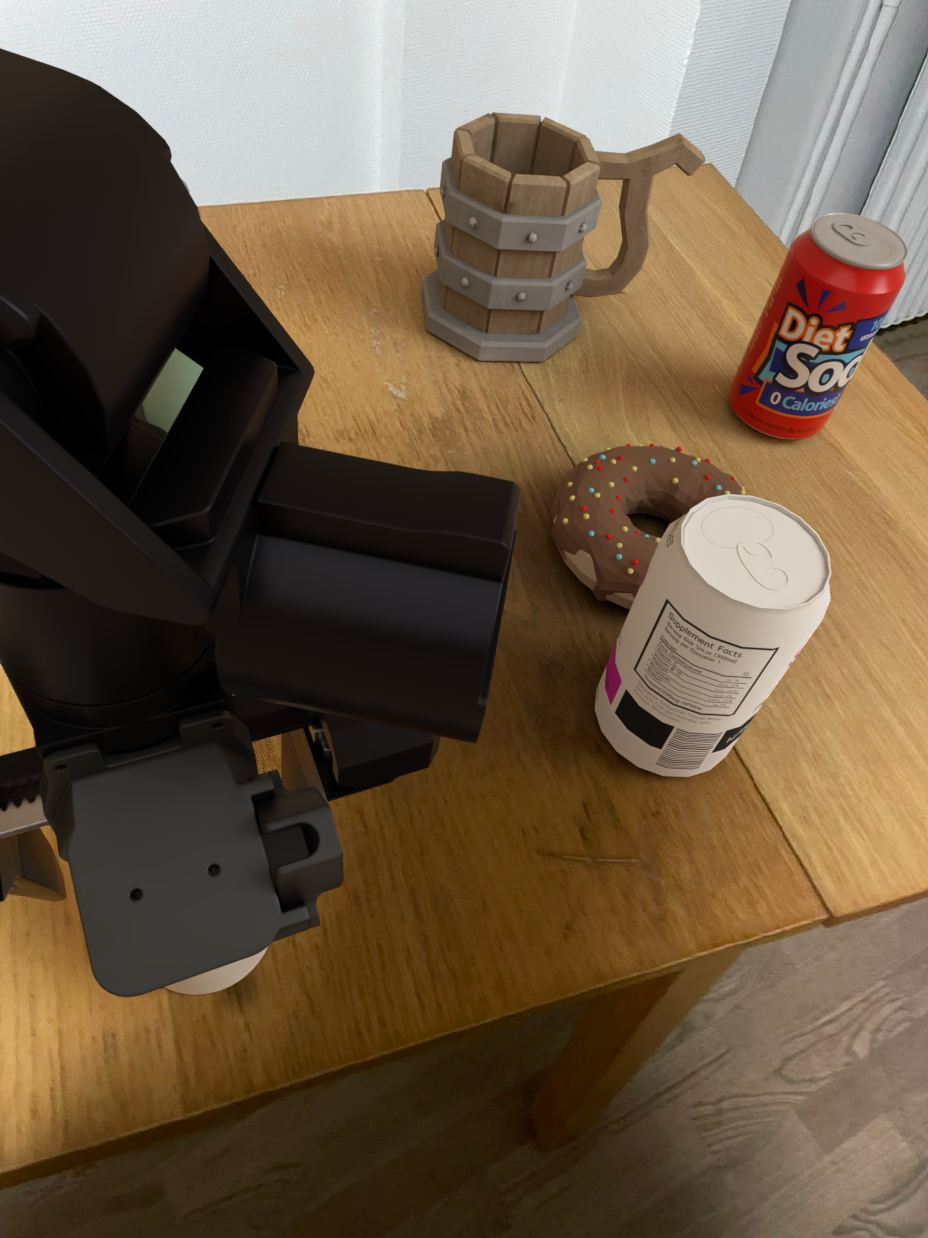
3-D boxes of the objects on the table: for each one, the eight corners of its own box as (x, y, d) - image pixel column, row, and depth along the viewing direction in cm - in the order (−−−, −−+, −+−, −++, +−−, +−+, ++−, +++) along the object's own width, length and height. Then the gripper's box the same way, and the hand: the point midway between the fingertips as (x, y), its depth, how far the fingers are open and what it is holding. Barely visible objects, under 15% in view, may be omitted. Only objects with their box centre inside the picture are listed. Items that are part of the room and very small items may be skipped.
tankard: (431, 361, 71) (452, 170, 59) (416, 269, 78) (431, 83, 67) (673, 366, 74) (739, 186, 63) (636, 277, 82) (688, 102, 70)
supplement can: (569, 680, 54) (636, 502, 42) (687, 649, 56) (782, 472, 45) (630, 800, 50) (724, 638, 38) (756, 760, 52) (881, 597, 40)
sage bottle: (154, 448, 61) (119, 272, 51) (136, 388, 64) (100, 212, 54) (249, 432, 63) (234, 260, 53) (227, 375, 66) (209, 202, 56)
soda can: (773, 372, 75) (855, 196, 64) (842, 430, 72) (943, 255, 60) (704, 398, 72) (777, 218, 60) (772, 459, 69) (864, 281, 57)
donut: (640, 667, 55) (664, 617, 51) (505, 523, 61) (518, 468, 57) (793, 576, 61) (825, 526, 57) (657, 454, 67) (677, 400, 63)
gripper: (-339, 1059, 17) (-61, 1166, 29) (549, 773, 23) (470, 962, 35) (-299, 608, 23) (-81, 855, 35) (399, 473, 29) (377, 725, 41)
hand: (181, 851), depth 37 cm, fingers open, 9 cm apart
